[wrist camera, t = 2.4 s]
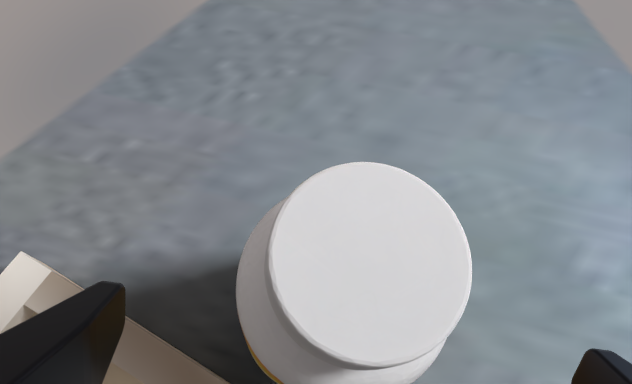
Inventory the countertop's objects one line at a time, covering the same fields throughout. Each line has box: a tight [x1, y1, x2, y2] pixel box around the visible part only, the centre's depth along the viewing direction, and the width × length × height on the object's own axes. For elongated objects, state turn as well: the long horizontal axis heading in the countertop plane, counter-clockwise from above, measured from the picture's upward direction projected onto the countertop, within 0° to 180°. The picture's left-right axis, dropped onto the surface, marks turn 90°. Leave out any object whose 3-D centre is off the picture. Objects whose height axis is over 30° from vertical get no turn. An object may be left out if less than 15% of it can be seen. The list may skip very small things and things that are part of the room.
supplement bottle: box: [236, 162, 472, 384], centre depth 13 cm, size 5×5×10 cm
